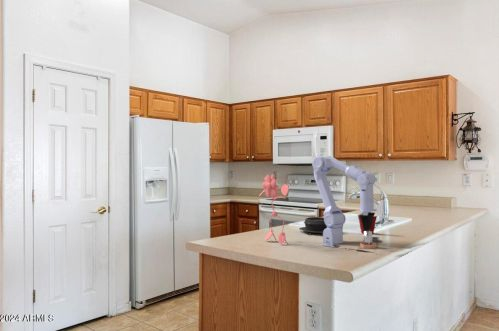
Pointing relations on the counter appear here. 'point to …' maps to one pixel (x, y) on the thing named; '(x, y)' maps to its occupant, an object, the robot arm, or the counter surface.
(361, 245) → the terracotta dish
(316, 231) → the casserole
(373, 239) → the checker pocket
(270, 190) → the figurine
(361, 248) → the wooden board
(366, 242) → the steel cell
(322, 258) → the counter surface
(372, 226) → the plastic cup
